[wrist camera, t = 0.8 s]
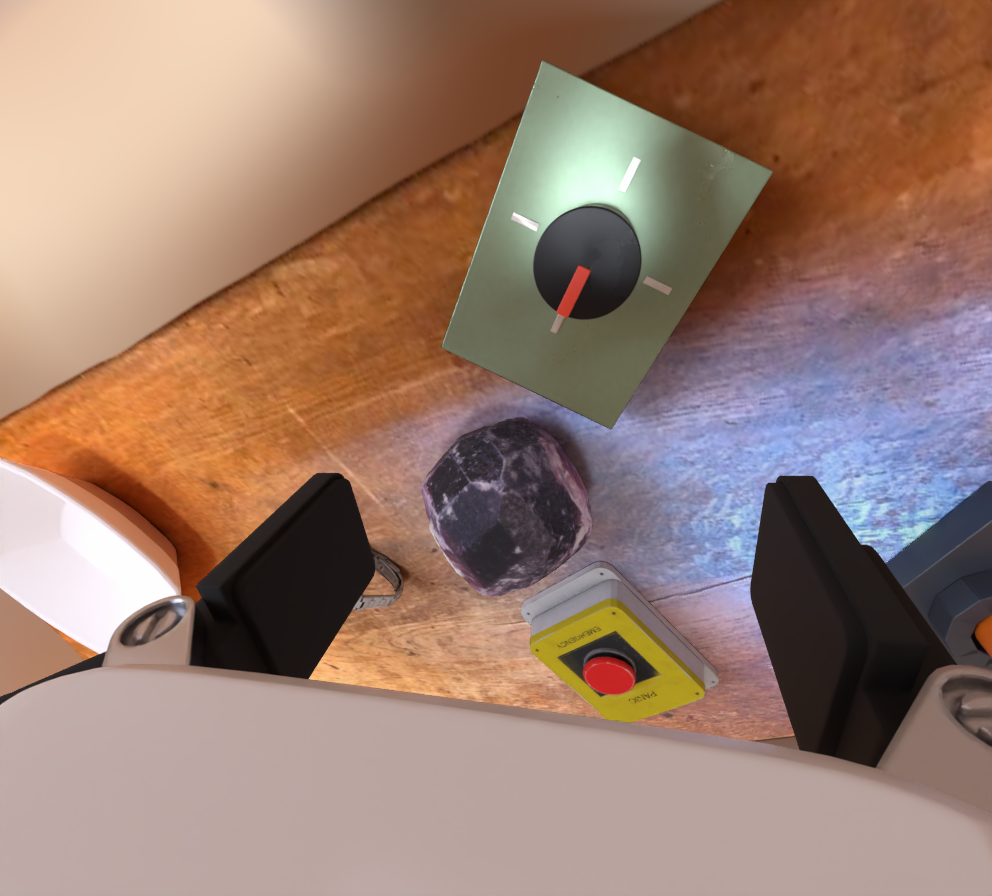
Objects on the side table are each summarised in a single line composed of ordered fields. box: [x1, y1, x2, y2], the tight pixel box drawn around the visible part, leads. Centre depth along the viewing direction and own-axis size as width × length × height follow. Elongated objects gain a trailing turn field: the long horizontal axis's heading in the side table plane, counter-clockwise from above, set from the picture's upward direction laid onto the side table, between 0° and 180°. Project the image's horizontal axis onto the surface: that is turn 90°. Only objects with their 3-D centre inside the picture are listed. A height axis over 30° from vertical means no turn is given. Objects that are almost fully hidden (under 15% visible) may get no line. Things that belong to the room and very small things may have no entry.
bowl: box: [0, 458, 181, 654], centre depth 46 cm, size 22×22×5 cm
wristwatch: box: [352, 550, 404, 610], centre depth 39 cm, size 4×6×5 cm, turn 62°
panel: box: [441, 60, 773, 429], centre depth 25 cm, size 14×11×3 cm
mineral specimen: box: [421, 417, 593, 597], centre depth 30 cm, size 10×10×10 cm
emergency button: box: [521, 561, 719, 723], centre depth 37 cm, size 9×4×15 cm
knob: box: [533, 203, 642, 320], centre depth 21 cm, size 4×4×5 cm
